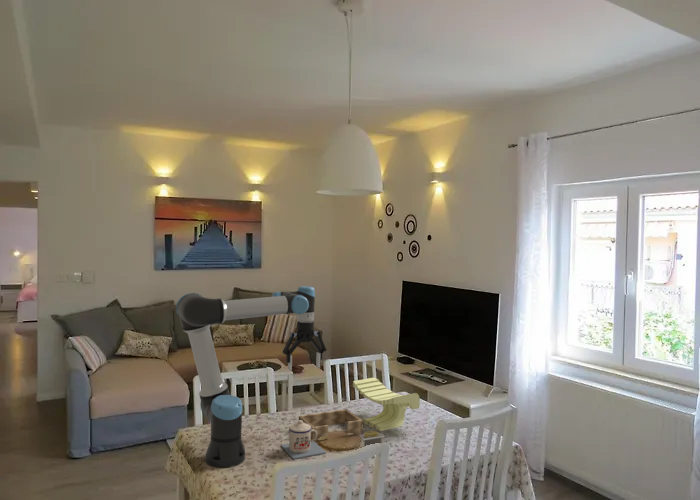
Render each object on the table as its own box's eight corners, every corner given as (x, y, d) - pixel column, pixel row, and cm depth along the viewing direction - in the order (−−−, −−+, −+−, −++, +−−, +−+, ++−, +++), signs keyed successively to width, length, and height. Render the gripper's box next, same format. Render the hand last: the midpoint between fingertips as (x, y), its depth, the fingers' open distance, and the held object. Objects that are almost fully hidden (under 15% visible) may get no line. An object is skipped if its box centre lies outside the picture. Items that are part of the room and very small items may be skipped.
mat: (293, 459, 200) (293, 458, 200) (281, 446, 213) (281, 444, 213) (325, 453, 207) (325, 452, 207) (312, 441, 219) (312, 439, 219)
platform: (346, 445, 217) (346, 429, 217) (383, 439, 225) (383, 424, 225) (358, 456, 206) (359, 440, 206) (397, 449, 214) (397, 434, 214)
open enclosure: (312, 442, 218) (313, 428, 218) (298, 429, 233) (298, 415, 232) (362, 433, 229) (363, 420, 229) (346, 421, 244) (346, 409, 244)
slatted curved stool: (418, 430, 236) (419, 391, 236) (392, 437, 226) (394, 397, 226) (377, 411, 260) (378, 376, 260) (352, 417, 250) (353, 381, 250)
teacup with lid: (292, 455, 203) (293, 426, 203) (285, 446, 211) (286, 418, 211) (320, 450, 208) (321, 422, 208) (312, 442, 216) (313, 415, 216)
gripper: (282, 323, 219) (280, 373, 219) (334, 321, 230) (332, 367, 231) (276, 321, 225) (274, 368, 226) (327, 318, 237) (325, 364, 238)
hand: (304, 368), depth 228 cm, fingers open, 13 cm apart
